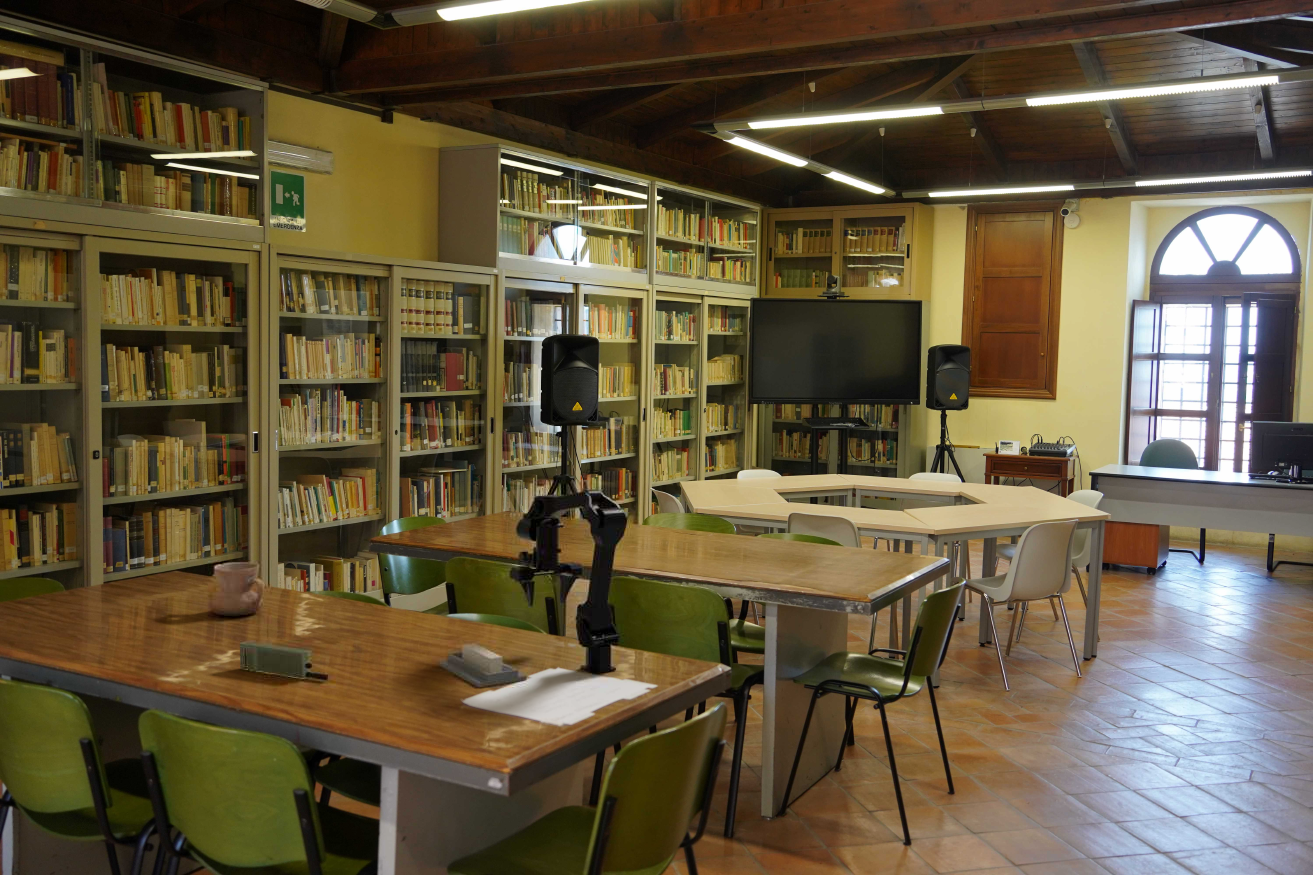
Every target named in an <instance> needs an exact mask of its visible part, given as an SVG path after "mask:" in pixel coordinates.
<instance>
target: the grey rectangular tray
mask: <svg viewBox="0 0 1313 875" xmlns="http://www.w3.org/2000/svg"><path fill="white" fill-rule="evenodd" d="M438 666H439V667H440V668H442V669H444V670H446V671H447V672H450V673H451V674H453V675H455V676H457V677H459V678H460V679H462V680H465V681H466V682H468V683H470V684H472V685H474V686H475V687H476V688H477V687H478V688H479V689H480V688H487V687H493V686H497V685H503V684H504V685H505V684H510V683H515V682H522V681H527V675H526V674H523V673H521V672H520V671H519V669H516V668H515V667H512V666H510V665H508V664H506V663H504V662H502V672H496V673H488V672H486V671H484V670H482V669H480V668H478V667H476V666H474V665H472V664H470V663H468V662H466V661H464V660H462V651H458V652H450V653H447V654H446V660H441V661H440V660H439V661H438Z"/></svg>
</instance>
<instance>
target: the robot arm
mask: <svg viewBox="0 0 1313 875" xmlns="http://www.w3.org/2000/svg"><path fill="white" fill-rule="evenodd" d="M594 507H597V508H598V509H595V508H594ZM576 509H583V512H584V514H583V515H584V518H585V520H586V521H587V522H588V523H589V524H590V528H589V529H590V530H589V531H590V534H591V537H592V539H593V541H594V550H593V556H592V562H591V563H592V564H591V571H590V577H589V584H588V593H587V598H586V600H585V602H584V603H579V604H578V605H577V607H576V616H575V618H574V621H575V622H576V623H575V630H576V635H577V640H578V643H579V645H580V646H581V647H582V648H585V664H584V665H583V664H582V665H580V669H582V670H584V671H587V672H589V673H591V674H600V673H606V672H613V671H617V667H615V666H612V645H614V644H619V641H620V637H621V635H620V633H619V631H618V629H617V628H616V625H615V624H614V622H613V612H612V609H611V607H610V605H609V603H608V602H609V596H610V588H611V582H612V575H613V567H614V560H615V556H616V555H615V554H616V547H617V545H618V544H619V542H620V541H621V540H622V538H623V537H624V536H625V532H626V529H627V526H628V516H627V514H626V513H625V511H624V509H622V508H621V506H620V505H619V504H618V503H617V502H615V501H614V500H613V499H611V498H609V497H608V496H606V495H605V494H604V493H603V492H602V491H601V490H599V489H597V488H596V489H583V491H579V492H573V493H570V494H565V495H564V494H546V495H536V496H535V497H534V498H533V501H532V503H531V505H530V507H529V509H528V510H527V511H528V512H527V513H523V514H522V518H521V519H520V520H519V521H518V523H517V526H516V528H515V530H516V534H517V536H518V537H519V538H520V539H523V540H526V541H530V542H535V546H533V549H532V553H529V551H527V550H526V551H520V552H519V553H518V563H519V565H520V566H512V567H511V569H510V570H509V578H510V579H512V580H514V582H516V583H519V585H520V587H521V588H522V590H523V593H524V596H525V598H526V601H527V604H528V607H531V608H532V607H533V605H534V599H535V598H534V597H535V596H534V595H535V583H536V581H534V580H533V579H534V578H535V577H537V576H538V577H539V576H547V575H556V574H557V575H558V578H559V581H560V586H559V588H560V590H559V601H560V603H561V604H564V603H565V601H566V599H567V598H568V595H569V593H570V591H571V589H572V587H573V586H574V584H575V582H576V581H577V580H579V578H580V576H583V575H584V567H583V565H582V563H578V562H575V561H564V562H560V563H559V554H560V553H562V548H560V547H559V546H560V545H559V542H560V540H559V539H560V538H559V537H560V532H559V531H560V529H561V528H564V524H563V522H561V521H560V519H559V517H561V516H563V515H565V514H567V512H568V511H571V510H576Z"/></svg>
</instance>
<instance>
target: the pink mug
mask: <svg viewBox="0 0 1313 875" xmlns="http://www.w3.org/2000/svg"><path fill="white" fill-rule="evenodd" d="M259 569H260V564H258V563H255V562H249V561H248V562H243V561H240V562H237V561H236V562H226V563H222V564H216V565H214V566H213V572H214V573H213V575H212V578H214V579H216V581H217V582H216V583H217V584H218V587H219V589H220V592H219V593H218V594H216V595H215V596H214V597H212V598H211V600H210V601H209V604H208V606H209V608H210V610H211V611H212V612H213V613H214V614H217V615H219V616H222V615H224V616H223V617H240V616H239V615H244V616H248V614H249V615H251V614H254V613H256V612H258V611H260V610H261V609H262V608H263V605H264V600H263V596H264V594H265V583H264V581H263V580H262V579H260V578H258V573H259V571H260V570H259ZM255 584H257V590H258V591H257V593H256V592H255V591H254V590H253V588H254V586H255Z"/></svg>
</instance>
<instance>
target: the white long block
mask: <svg viewBox="0 0 1313 875" xmlns="http://www.w3.org/2000/svg"><path fill="white" fill-rule="evenodd" d="M461 645H462V647H461V648H462V650H461V652H462V660H464V661H466V662H468V663H470V664H472V665H474V666H476V667H478V668H480V669H482V670H484V671H486V672H488V673H496V672H502V663H503V656H502V655H500V654H497V653H494V652H493V651H491V650H488V649H487V648H484V647H482V646H480V645H478V644H476V643H467V644H466V643H465V644H461Z"/></svg>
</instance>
